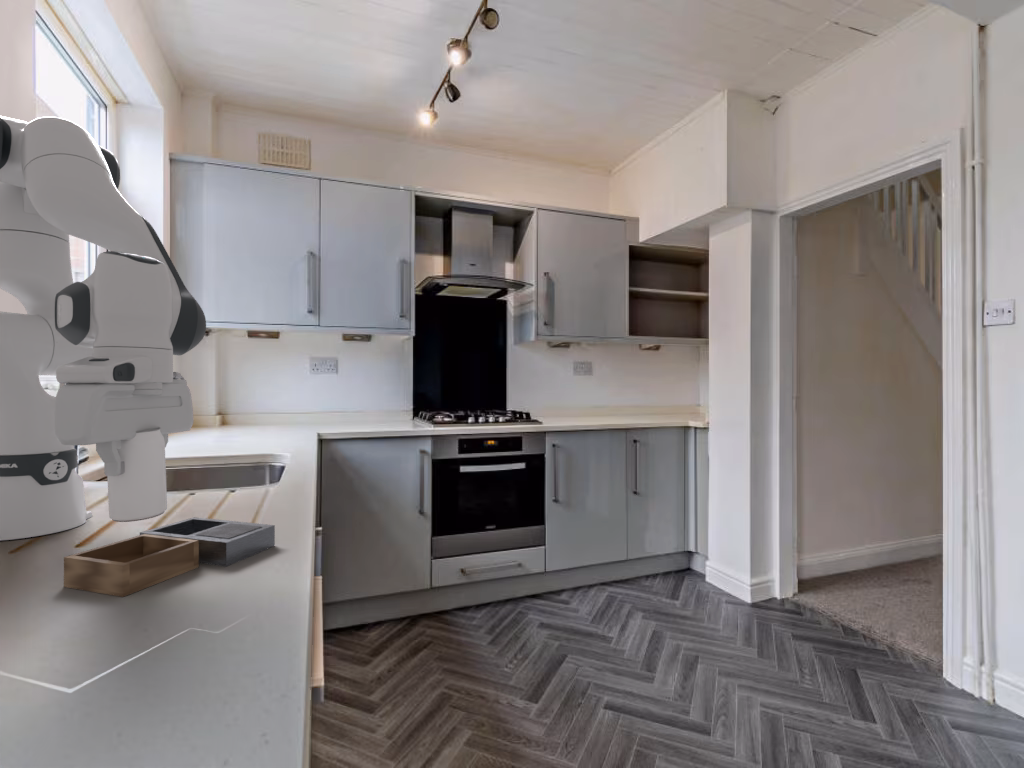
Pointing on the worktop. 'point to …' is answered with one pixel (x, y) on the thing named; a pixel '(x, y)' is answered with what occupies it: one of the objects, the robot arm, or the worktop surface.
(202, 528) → the tray
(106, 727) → the worktop surface
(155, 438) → the can
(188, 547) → the box
